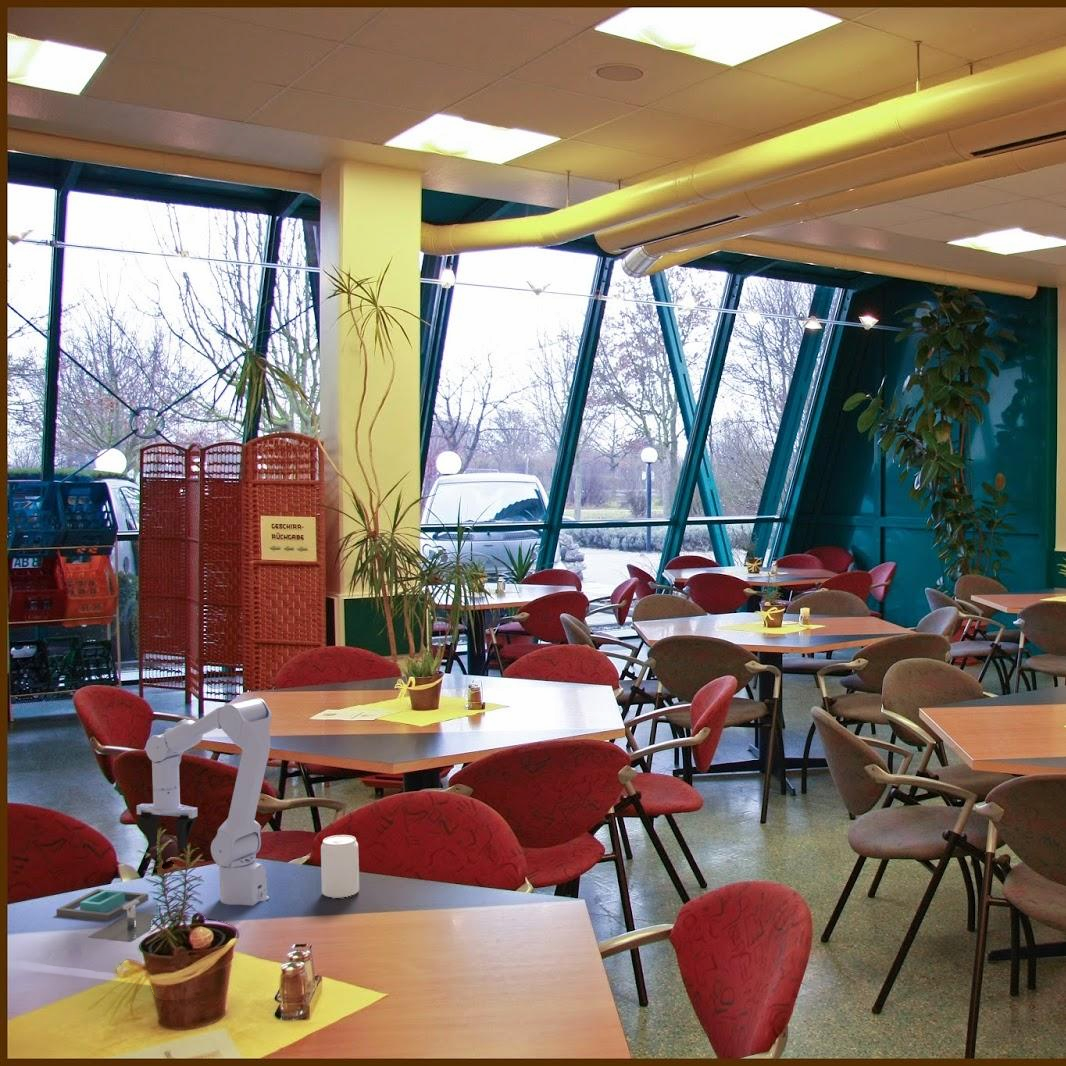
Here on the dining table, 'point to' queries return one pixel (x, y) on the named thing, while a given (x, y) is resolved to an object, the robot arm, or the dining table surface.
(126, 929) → the stand
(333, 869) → the beverage can
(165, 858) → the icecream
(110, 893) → the teal open-top box
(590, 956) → the dining table surface
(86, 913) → the tray
